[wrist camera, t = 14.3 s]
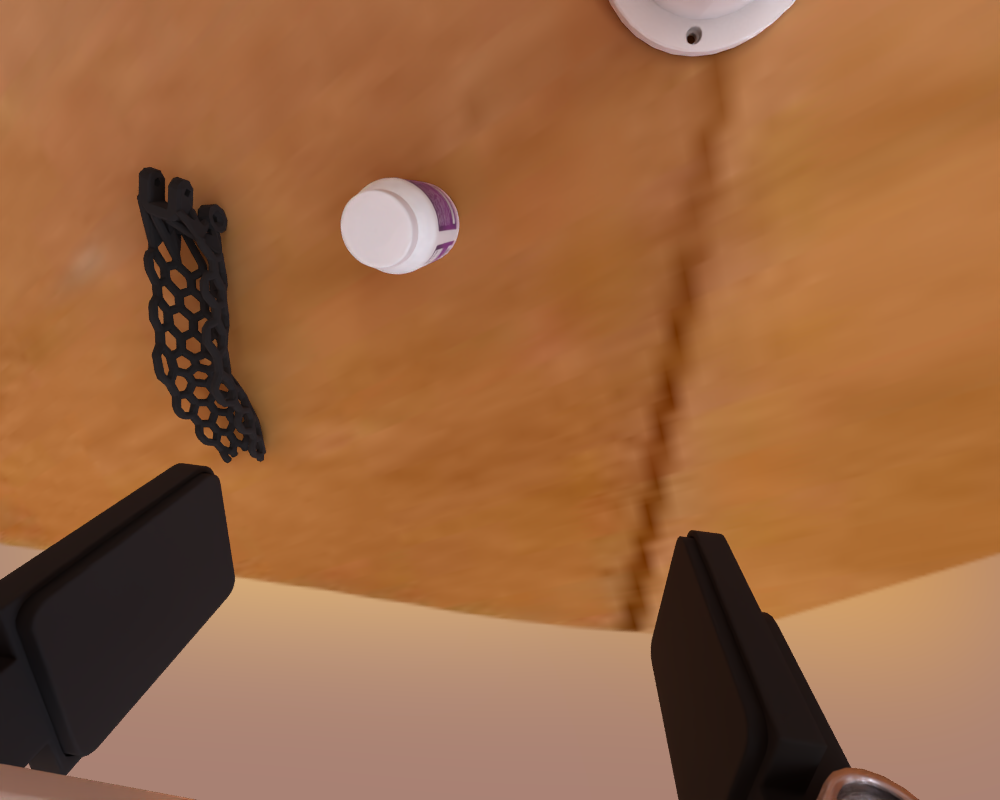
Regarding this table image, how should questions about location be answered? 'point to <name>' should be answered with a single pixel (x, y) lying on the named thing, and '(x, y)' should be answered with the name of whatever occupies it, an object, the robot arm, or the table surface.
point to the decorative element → (205, 229)
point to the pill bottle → (399, 225)
